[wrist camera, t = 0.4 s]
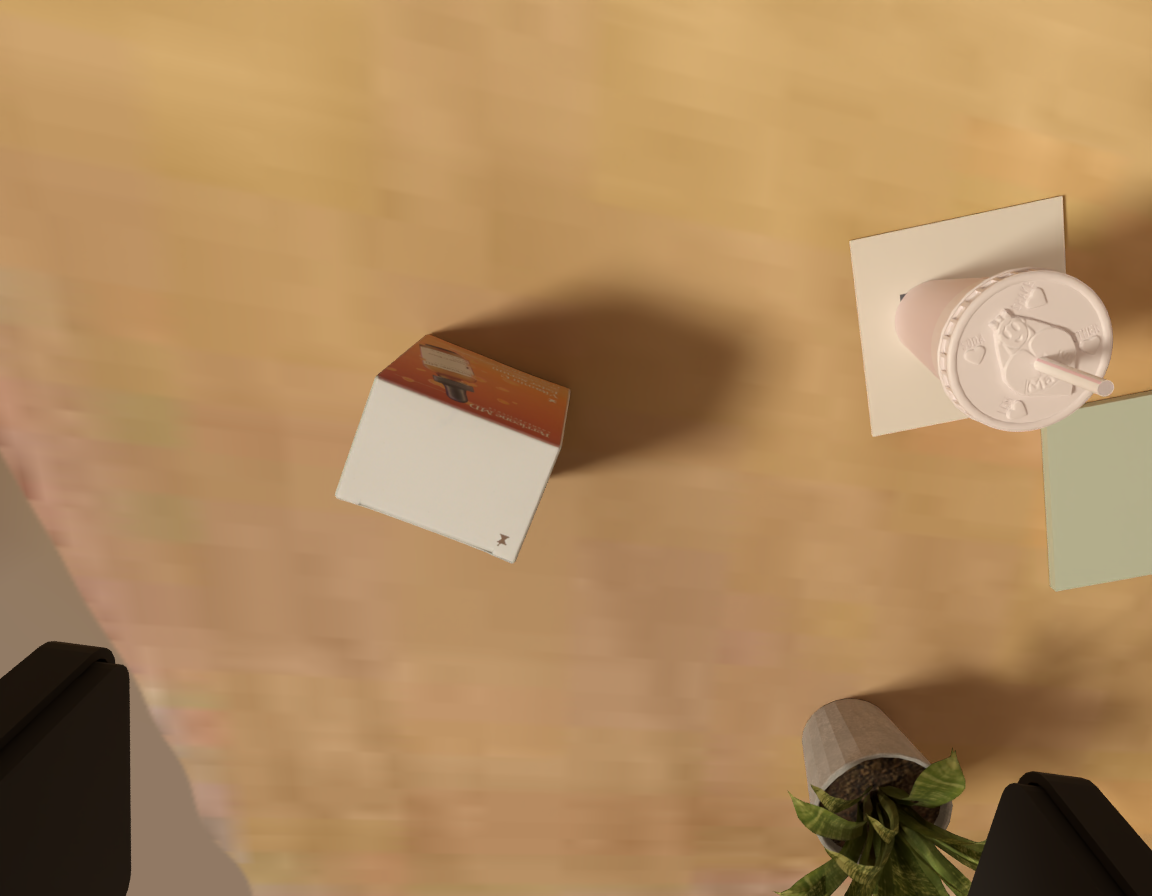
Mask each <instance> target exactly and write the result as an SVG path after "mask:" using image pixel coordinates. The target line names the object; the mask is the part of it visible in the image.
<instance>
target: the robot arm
mask: <svg viewBox="0 0 1152 896" xmlns="http://www.w3.org/2000/svg"><path fill="white" fill-rule="evenodd" d="M129 697H130V694H129V672H128V670H127V668H126V667H125V666H124V665H120V664H115V658H114V656H113V654H112V651H110V650H109V649H107V648H102V647H95V646H87V645H80V644H72V643H65V642H57V641H51V642H47V643H45V644H43V645H41V646H40V647H39V648H37V649H36V650H35V651H34V652H32V653H31V654H30V655H29V656H28V657H26V658H25V659H24V660H23V661H22V662H20V663H19V664H18V665H17V666H15V667H14V668H13V669H12V670H11V671H9V672H8V673H7V674H6V675H4V676H3V677H2V678H1V679H0V896H126V893H127V890H128V887H129V882H130V876H131V827H130V826H131V818H130V817H131V816H130V703H129V702H130V701H129V700H130V698H129ZM967 896H1152V850H1151V849H1150V848H1149V847H1148V846H1147V844H1146V843H1145V842H1144V841H1143V840H1142V839H1141V837H1140V836H1139V835H1138V834H1137V833H1136V832H1135V831H1134V829H1133V828H1132V827H1131V826H1130V825H1129V824H1128V822H1127V821H1126V820H1125V819H1124V818H1123V817H1122V815H1121V814H1120V813H1119V812H1118V811H1117V810H1116V808H1115V807H1114V806H1113V805H1112V804H1111V803H1110V802H1109V800H1108V799H1107V798H1106V797H1105V796H1104V795H1103V793H1102V792H1101V791H1100V790H1099V789H1098V788H1097V787H1096V786H1095V785H1094V784H1093V783H1092V782H1091V781H1089V780H1087V779H1083V778H1079V777H1072V776H1064V775H1057V774H1049V773H1042V772H1034V771H1032V772H1028V773H1025V774H1024V775H1023V776H1022V777H1021V778H1020V780H1019V782H1018V783H1013V784H1009V785H1008V786H1007V787H1006V788H1005V789H1004V791H1003V793H1002V796H1001V799H1000V802H999V805H998V807H997V810H996V813H995V816H994V819H993V822H992V825H991V828H990V831H989V834H988V837H987V839H986V842H985V845H984V848H983V851H982V854H981V857H980V860H979V863H978V866H977V869H976V872H975V874H974V877H973V880H972V883H971V886H970V889H969V892H968V895H967Z"/></svg>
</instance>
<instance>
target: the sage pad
mask: <svg viewBox="0 0 1152 896" xmlns="http://www.w3.org/2000/svg"><path fill="white" fill-rule="evenodd" d="M1041 437H1042V455H1043V472H1044V490H1045V507H1046V525H1047V542H1048V560H1049V577H1050V587H1051V588H1052V589H1053V590H1055V591H1062V590H1067V589H1073V588H1079V587H1084V586H1090V585H1095V584H1101V583H1107V582H1112V581H1118V580H1123V579H1129V578H1135V577H1140V576H1146V575H1151V574H1152V390H1151V391H1146V392H1141V393H1136V394H1131V395H1126V396H1120V397H1115V398H1110V399H1105V400H1100V401H1095V402H1090V403H1084V404H1083V405H1082V406H1081V407H1080V408H1079V409H1077V410H1076V411H1075V412H1074V413H1072V414H1071V415H1069V416H1068V417H1066V418H1064V419H1063V420H1061V421H1059V422H1057V423H1055V424H1052V425H1050V426H1047V427H1044V428H1041Z"/></svg>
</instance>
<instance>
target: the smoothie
mask: <svg viewBox="0 0 1152 896" xmlns="http://www.w3.org/2000/svg"><path fill="white" fill-rule="evenodd" d="M895 329H896V333H897V335H898V337H899V339H900V341H901V342H902V343H903V344H904V346H905V347H906V348H907V349H909V350H910V351H911V352H912V353H913V354H914V355H915V356H916V357H917V358H918V359H919V360H920V361H921V362H922V363H923V364H924V365H925V366H926V367H927V368H928V369H929V370H930V371H931V372H932V373H933V374H934V375H935V376H936V377H937V378H938V379H939V380H940V381H941V384H942V387H943V390H944V392H945V393H946V395H947V396H948V397H949V399H950V400H951V402H952V403H953V404H954V406H955V407H956V408H957V409H959V410H960V411H961V412H963V413H964V414H965V415H967V416H968V417H969V418H971V419H973V420H975V421H978V422H981V423H983V424H985V425H987V426H989V427H992V428H995V429H999V430H1004V431H1012V432H1022V431H1031V430H1037V429H1041V428H1044V427H1047V426H1050V425H1052V424H1055V423H1057V422H1059V421H1061V420H1063V419H1064V418H1066V417H1068V416H1069V415H1071V414H1072V413H1074V412H1075V411H1076V410H1077V409H1079V408H1080V407H1081V406H1082V405H1083V404H1084V403H1085V402H1086V401H1087V400H1088V399H1089V398H1090V397H1091V396H1092V394H1093V393H1095V394H1098V395H1100V396H1108V395H1110V394H1111V393H1112V392H1113V390H1114V385H1113V383H1112V382H1111V381H1109V380H1106V379H1103V377H1104V375H1105V373H1106V371H1107V368H1108V365H1109V362H1110V359H1111V354H1112V347H1113V332H1112V325H1111V320H1110V317H1109V314H1108V311H1107V309H1106V307H1105V305H1104V304H1103V302H1102V300H1101V299H1100V298H1099V296H1098V295H1097V294H1096V293H1095V292H1094V291H1093V290H1092V289H1091V288H1090V287H1089V286H1088V285H1086V284H1085V283H1084V282H1082V281H1080V280H1079V279H1077V278H1075V277H1073V276H1070V275H1067V274H1064V273H1060V272H1058V271H1055V270H1053V269H1050V268H1039V267H1029V266H1028V267H1022V268H1016V269H1010V270H1005V271H1003V272H1001V273H998V274H996V275H994V276H992V277H981V278H963V279H945V280H931V281H927V282H923V283H921V284H919V285H917V286H915V287H914V288H912V289H911V290H910V291H909V292H908V293H907V294H906V295H905V296H904V297H903V299H902V300H901V302H900V304H899V306H898V308H897V311H896V315H895Z"/></svg>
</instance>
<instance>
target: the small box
mask: <svg viewBox="0 0 1152 896" xmlns="http://www.w3.org/2000/svg"><path fill="white" fill-rule="evenodd" d="M570 393H571V392H570V389H568V388H566V387H563V386H560V385H558V384H555V383H552V382H549V381H546V380H543V379H541V378H538V377H535V376H533V375H530V374H527V373H525V372H522V371H519V370H517V369H514V368H512V367H509V366H507V365H504V364H502V363H500V362H497V361H495V360H492V359H490V358H487V357H485V356H482V355H480V354H477V353H475V352H472V351H470V350H467V349H465V348H462V347H460V346H457V345H454V344H452V343H449V342H447V341H444V340H442V339H439V338H437V337H435V336H432V335H425V336H424V337H423V338H421V339H420V340H419V341H418V342H416V343H415V344H414V345H413V346H412V347H410V348H409V349H408V350H407V351H406V352H404V353H403V354H402V355H401V356H399V357H398V358H397V359H396V360H395V361H394V362H393V363H391V364H390V365H389V366H388V367H386V368H385V369H384V370H383V371H381V372H380V373H379V374H378V375H377V376H376V377H375V380H374V383H373V385H372V388H371V391H370V394H369V397H368V400H367V403H366V405H365V408H364V411H363V414H362V417H361V420H360V423H359V426H358V428H357V431H356V434H355V437H354V440H353V443H352V446H351V449H350V452H349V454H348V457H347V460H346V463H345V466H344V469H343V472H342V475H341V478H340V481H339V484H338V487H337V490H336V493H335V496H336V498H337V499H340V500H343V501H347V502H350V503H353V504H356V505H359V506H363V507H366V508H368V509H371V510H374V511H377V512H380V513H383V514H385V515H388V516H391V517H394V518H396V519H399V520H402V521H405V522H408V523H410V524H413V525H415V526H418V527H421V528H424V529H426V530H429V531H432V532H435V533H437V534H440V535H442V536H445V537H448V538H450V539H453V540H456V541H458V542H461V543H464V544H466V545H469V546H471V547H474V548H476V549H479V550H482V551H484V552H486V553H489V554H491V555H493V556H495V557H497V558H500V559H502V560H505V561H507V562H509V563H514V562H515V561H516V559H517V557H518V554H519V552H520V549H521V547H522V544H523V542H524V539H525V537H526V535H527V532H528V530H529V527H530V525H531V522H532V520H533V517H534V515H535V513H536V510H537V508H538V505H539V503H540V500H541V498H542V495H543V493H544V490H545V488H546V485H547V483H548V480H549V478H550V475H551V473H552V470H553V468H554V465H555V463H556V460H557V458H558V455H559V453H560V450H561V447H562V442H563V436H564V428H565V423H566V418H567V411H568V405H569V399H570Z"/></svg>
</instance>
